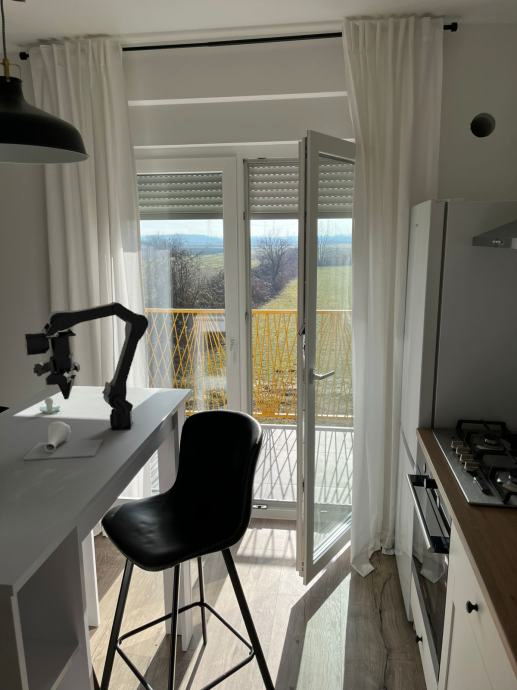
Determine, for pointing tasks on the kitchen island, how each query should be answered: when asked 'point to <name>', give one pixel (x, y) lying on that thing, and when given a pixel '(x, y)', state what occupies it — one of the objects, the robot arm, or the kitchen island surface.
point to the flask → (57, 435)
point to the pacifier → (49, 406)
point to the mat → (65, 450)
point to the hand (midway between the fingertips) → (66, 399)
